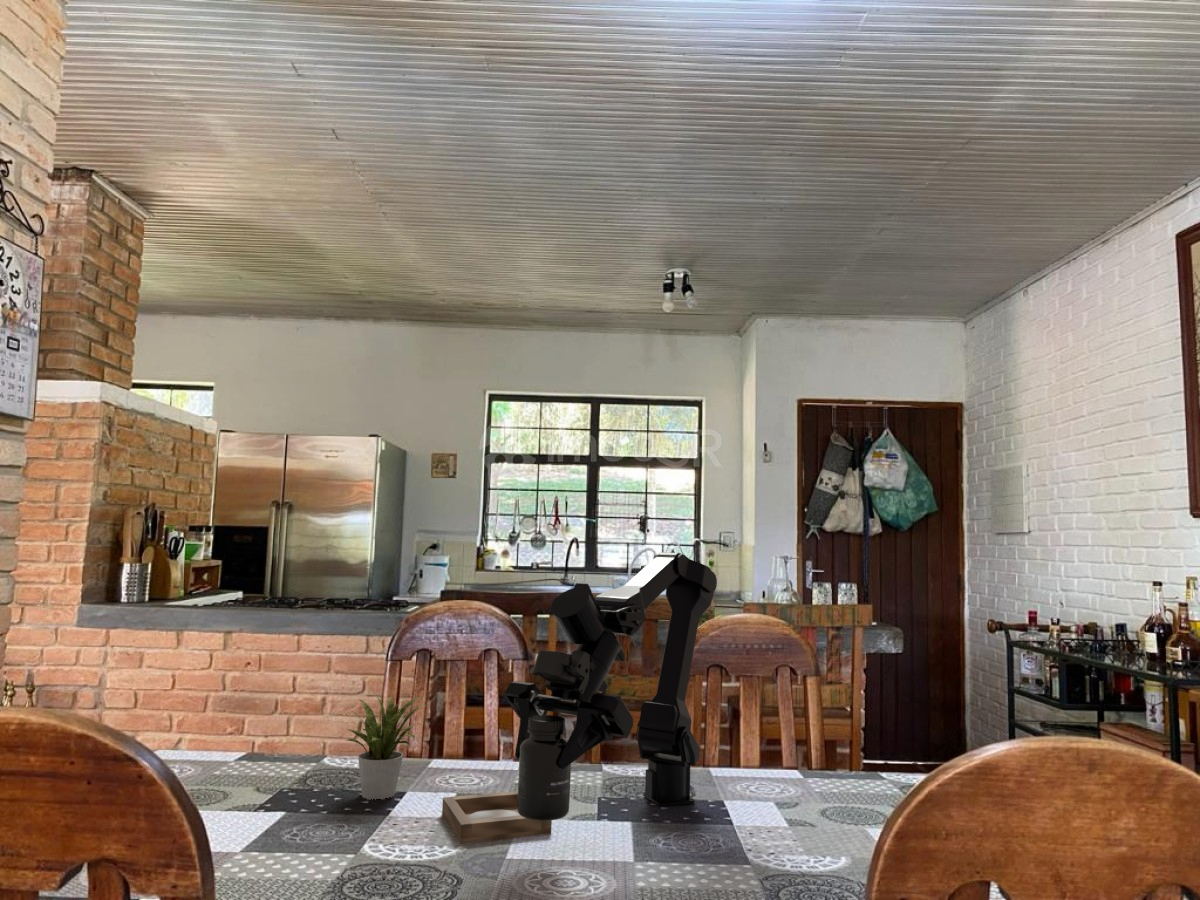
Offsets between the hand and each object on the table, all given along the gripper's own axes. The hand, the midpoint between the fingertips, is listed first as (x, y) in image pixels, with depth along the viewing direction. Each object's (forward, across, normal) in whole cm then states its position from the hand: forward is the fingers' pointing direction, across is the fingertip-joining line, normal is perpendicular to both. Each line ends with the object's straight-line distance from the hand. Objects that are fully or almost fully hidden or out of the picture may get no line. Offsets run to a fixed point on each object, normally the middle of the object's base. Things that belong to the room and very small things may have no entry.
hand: (538, 762), depth 103 cm
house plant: (+3, -37, +15) cm, 40 cm away
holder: (+3, -14, +15) cm, 21 cm away
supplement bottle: (+4, 0, +6) cm, 7 cm away
